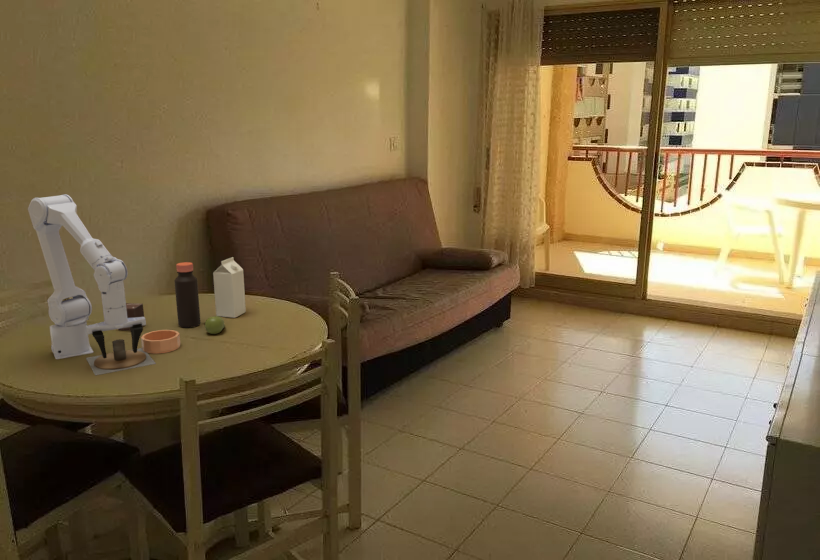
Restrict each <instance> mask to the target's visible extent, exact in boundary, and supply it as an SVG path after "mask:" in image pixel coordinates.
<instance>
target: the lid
mask: <svg viewBox="0 0 820 560" xmlns="http://www.w3.org/2000/svg"><path fill="white" fill-rule="evenodd" d="M111 343H112V350H113V352H109V353H106V355H107V358H103V356H100V355H99V356H100V357H98V358H97V359H96V360H95V361H94V366H95V367H97V368H100V369H106V370H115V369H123V368H128V367H132V366H135V365H138V364H140V363H142V362H144V361H145V360H146V354H145V353H143V352H141V351H137V352H136V353H134V352H133V349H130V350H129V349H127V350H126V344H125V339H114V340H113V341H111Z"/></svg>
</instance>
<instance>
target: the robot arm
mask: <svg viewBox="0 0 820 560" xmlns="http://www.w3.org/2000/svg"><path fill="white" fill-rule="evenodd" d="M77 208H78V205H77V204H76V202H75V201H74V200H73V198H72V197H71V196H70V195H69V194H66V193H65V194H61V195H52V196H45V197H34V198H32V199H31V201H30V202H29V205H28V207H27V211H28V214H29V218H30V221H31V224H32V228H33V230H35V233H36V235H37V239H38V241H39V244H40V248H41V251H42V255H43V258H44V262H45V264H46V269H47V271H48V275H49V279H50V281H51V284H52V288H53V293H51V295H50V296H49V297H48V298H47V305H48V316H49V319H50V320H51V321H52V323H54V324H52V325H49V334H50V341H51V352H52V353H53V356H54V358H55V360H60V359H67V358H71V357H76V356H77V357H78V356H83V355H89V354H93V353H94V350H93V348H92V347H91V345H90V339H89V335H92V337H93V338H94V340H95V341H96V343H97V345H98V347H99V349H100V351H101V355H102V356H103V358H107V355H106V354H107V351H106V342H105V335H104V332H106V331H114V330H119V329H120V328H126V327H130V330H129V331H130V334H131V345H132V346H131V348H132V349H131V350H133V352H134V353H136V352H137V349H138V344H139V341H140V339H141V337H142V336H141V335H142V334H143V331H144V326H147V323H146V317H145V316H144V317H136V318H127V309H126V303H127V300H126V291H125V290H126V289H125V280H127V278H128V275H129V274H128V272H129V271H128V268H127V265H126V263H125V262H124V261H123V260H122V259H118V258H117V257H115V256H113V254H111V253H110V251H109V250H108V249H107V248H106V246H105V245H104V244H103V242H102V241H101V240H100V239H98V238H93V237H92V235H91V234H90V231H89V230H88V229H87V227H86V226H85V225H84V223H83V221H82V220H81V218H80V217H79V215H78V209H77ZM62 227H63V228H64V229H65V230H66V231H67V232H68V233H69V234H70V235H71V236H72V238H74V240H75V241H76V242H77V243H78V244H79V245H80V249H79V253H80V254H81V255H82V257H83V258H84V260H85V261H87V263H88V264H89V266H90V267H91V268H92V269H93V270H94V272H93V278H94V280H95V282H96V284H97V287H98V288H97V289H98V290H99V292H100V294H101V295H100V297H101V303H102V312H103V321H101V322H96V323H93V324H89V325H88V324H87V323H88V320H89V317H90V316H91V314H92V312H93V306H92V303H91V301H90V299H89V298H88V296H87V294H86V291H85V290H84V289H82V288H80V287H78V286H76V284H75V280H74V277H73V275H72V270H71V268H70V264H69V261H68V257H67V254H66V252H65V247H64V244H63V241H62V237H61V235H60V230H61V229H62ZM65 299H66V300H65ZM143 325H144V326H143ZM142 326H143V327H142Z"/></svg>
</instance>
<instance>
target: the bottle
mask: <svg viewBox="0 0 820 560" xmlns="http://www.w3.org/2000/svg"><path fill="white" fill-rule="evenodd" d="M175 266H176V273H177V276H176V278H175V279H174V289H175V290H174V291H175V300H176V302H175V303H176V304H175V305H176V313H177V324H178V327H179V328H183V329H189V328H190V327H191V328H196V327H198V326H200V325H201V312H200V311H201V310H200V298H199V296H200V295H199V286H198V278H197V277H196V276H195V275H194V274H193V273H194V264H193V262H189V261H186V262H185V261H184V262H178V263H176V265H175ZM191 328H190V329H191Z"/></svg>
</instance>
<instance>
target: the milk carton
mask: <svg viewBox="0 0 820 560" xmlns="http://www.w3.org/2000/svg"><path fill="white" fill-rule="evenodd" d="M234 258H235V257H233V256H232V257H229V258H226V259H224V260H221V261H220V263H221V264H220V266H218V267H217V268H216V270H214V271H213V273H212V275H213V277H212V278H213V285H214V286H213V287H214V288H213V289H214V290H213V292H214V302H215V316H219V317H221V318H223V317H224V318H233V319H235V318H237V317H239V316H241V315H243V314H244V313H246V312H247V309H246V294H245V278H244V277H245V276H244V269H243V268H242V267H241V266H240V264H239V263H237V262H236V261H235V260H234Z"/></svg>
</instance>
